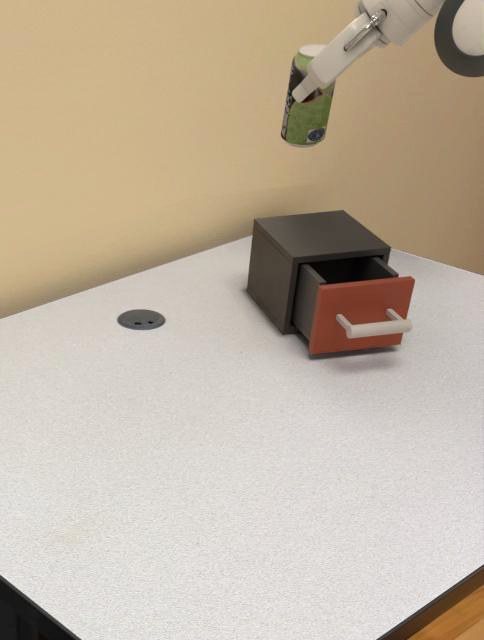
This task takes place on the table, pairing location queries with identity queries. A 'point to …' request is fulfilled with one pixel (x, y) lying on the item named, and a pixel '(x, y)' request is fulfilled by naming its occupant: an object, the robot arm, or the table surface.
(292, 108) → the beverage can
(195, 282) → the table surface
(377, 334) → the drawer
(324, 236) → the cabinet
